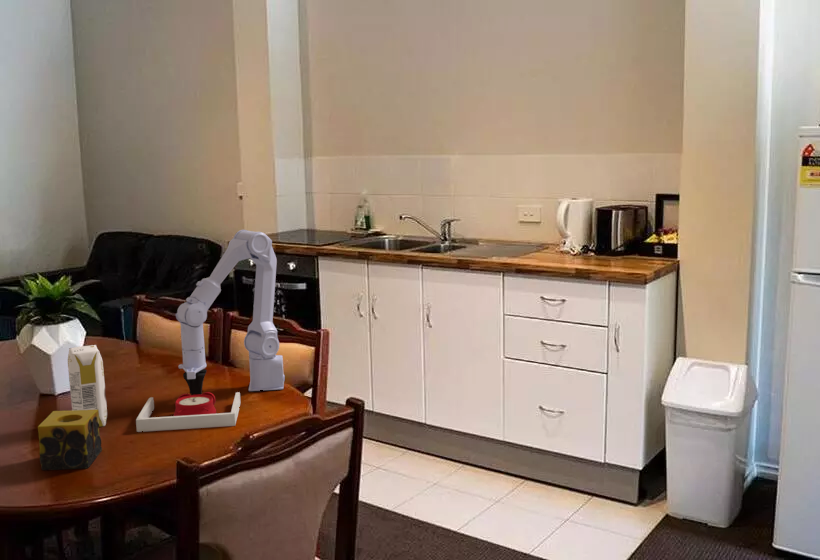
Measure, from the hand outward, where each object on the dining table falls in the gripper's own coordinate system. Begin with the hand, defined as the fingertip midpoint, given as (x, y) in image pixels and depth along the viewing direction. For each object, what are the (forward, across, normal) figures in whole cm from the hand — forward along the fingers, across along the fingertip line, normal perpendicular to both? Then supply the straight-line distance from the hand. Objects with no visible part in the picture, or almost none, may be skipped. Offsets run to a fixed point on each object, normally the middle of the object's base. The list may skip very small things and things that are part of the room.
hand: (196, 398), depth 212 cm
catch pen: (+1, +11, 0) cm, 11 cm away
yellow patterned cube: (+2, +36, -22) cm, 43 cm away
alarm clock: (+2, +9, +1) cm, 9 cm away
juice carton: (+1, +12, -24) cm, 27 cm away
